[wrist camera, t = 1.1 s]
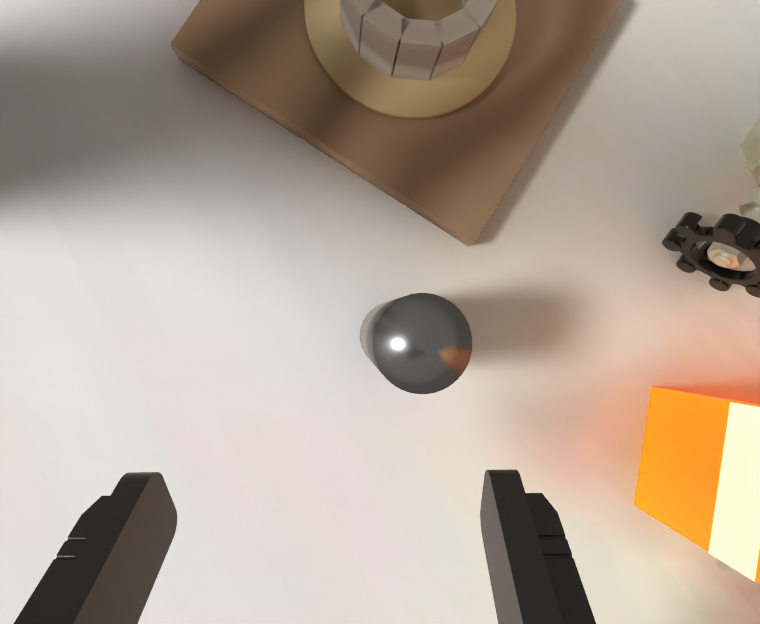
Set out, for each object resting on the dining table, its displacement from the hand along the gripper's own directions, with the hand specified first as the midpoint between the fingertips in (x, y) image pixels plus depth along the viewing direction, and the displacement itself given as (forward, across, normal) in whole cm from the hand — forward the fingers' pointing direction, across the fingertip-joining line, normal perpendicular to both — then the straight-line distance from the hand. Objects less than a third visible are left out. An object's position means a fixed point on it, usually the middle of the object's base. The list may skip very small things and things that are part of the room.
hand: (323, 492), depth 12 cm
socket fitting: (+26, -3, -10) cm, 27 cm away
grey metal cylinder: (+16, -2, +6) cm, 17 cm away
